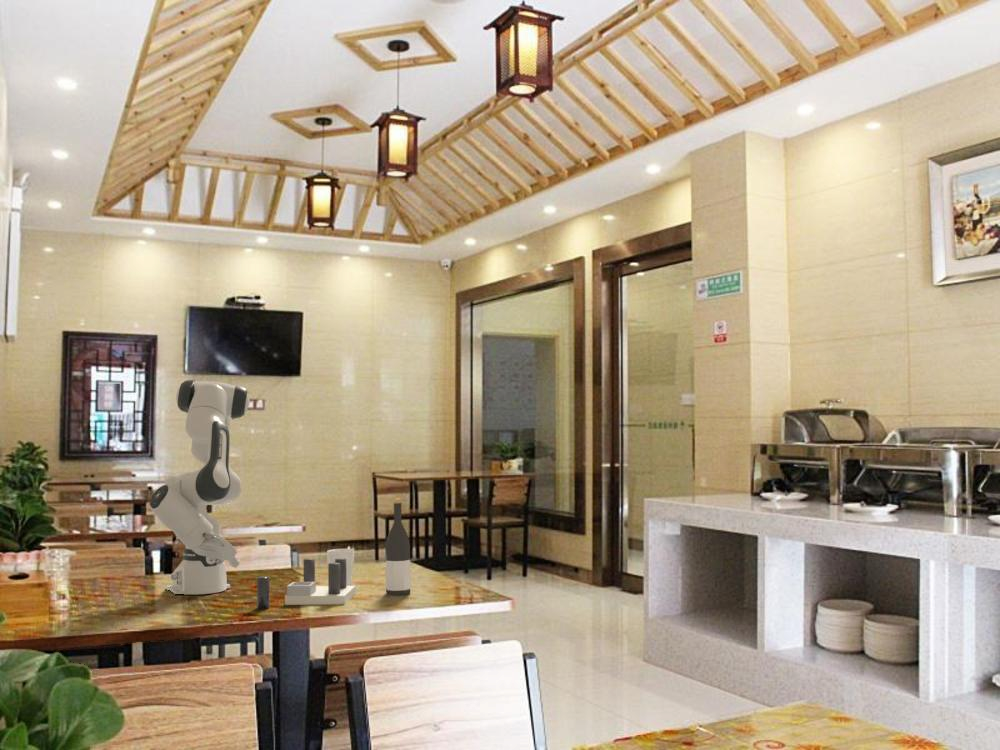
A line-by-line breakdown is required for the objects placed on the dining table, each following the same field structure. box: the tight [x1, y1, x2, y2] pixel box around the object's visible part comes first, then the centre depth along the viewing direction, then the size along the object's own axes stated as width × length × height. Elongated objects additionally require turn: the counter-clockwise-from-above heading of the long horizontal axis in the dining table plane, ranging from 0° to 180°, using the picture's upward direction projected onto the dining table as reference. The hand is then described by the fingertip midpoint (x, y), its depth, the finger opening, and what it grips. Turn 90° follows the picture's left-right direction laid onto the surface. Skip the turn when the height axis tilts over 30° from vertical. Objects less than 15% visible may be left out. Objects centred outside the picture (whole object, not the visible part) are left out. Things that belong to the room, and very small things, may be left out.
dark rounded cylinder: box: [256, 575, 270, 610], centre depth 270 cm, size 4×4×9 cm
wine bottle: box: [385, 497, 411, 596], centre depth 292 cm, size 8×8×30 cm
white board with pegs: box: [284, 558, 357, 606], centre depth 283 cm, size 18×18×12 cm
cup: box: [326, 548, 355, 586], centre depth 306 cm, size 9×9×12 cm
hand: (228, 564), depth 263 cm, fingers open, 8 cm apart
